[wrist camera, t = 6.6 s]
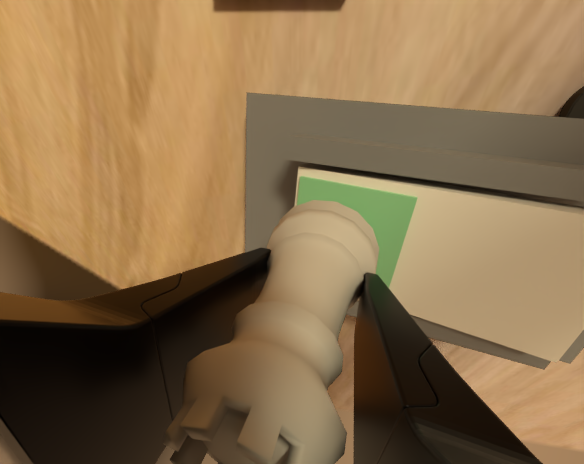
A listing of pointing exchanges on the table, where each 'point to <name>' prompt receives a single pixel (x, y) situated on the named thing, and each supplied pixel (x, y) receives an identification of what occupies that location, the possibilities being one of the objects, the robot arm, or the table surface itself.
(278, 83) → the table surface
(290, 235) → the rook chess piece
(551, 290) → the rocker
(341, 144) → the grey stand
